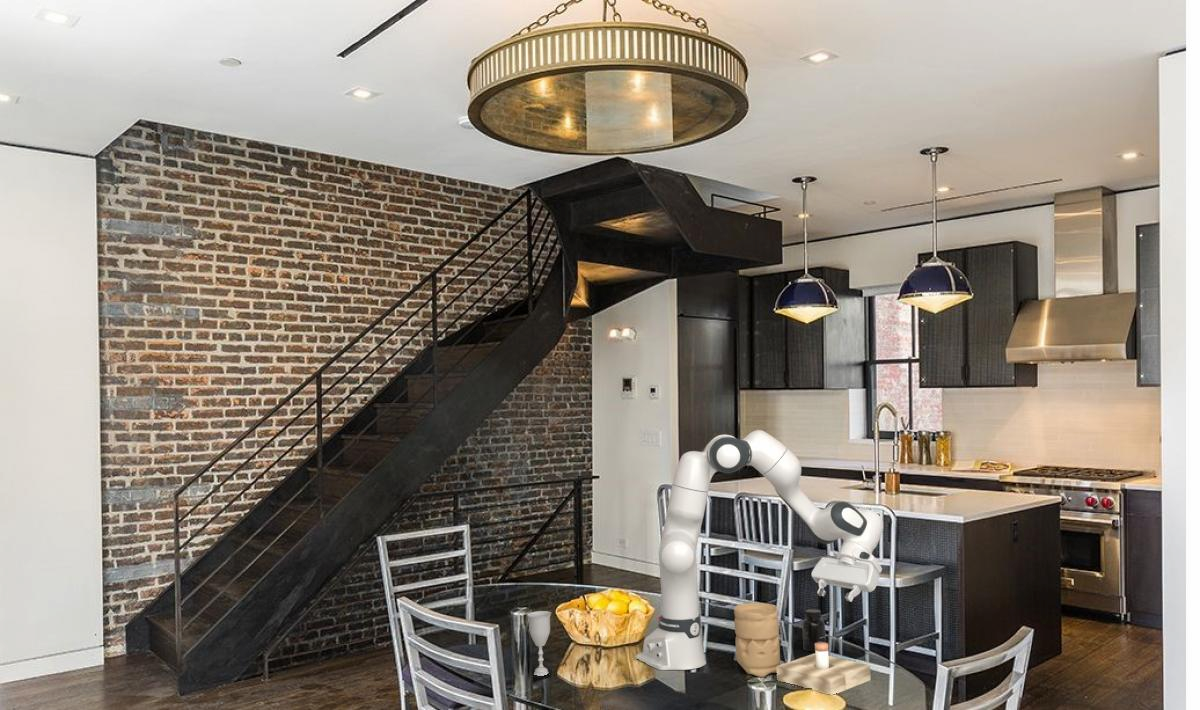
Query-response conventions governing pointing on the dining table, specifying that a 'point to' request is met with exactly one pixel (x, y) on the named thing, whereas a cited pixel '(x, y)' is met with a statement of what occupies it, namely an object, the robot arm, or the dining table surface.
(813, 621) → the supplement bottle
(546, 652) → the dining table surface
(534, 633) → the chalice
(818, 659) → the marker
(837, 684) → the socket block
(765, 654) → the container
